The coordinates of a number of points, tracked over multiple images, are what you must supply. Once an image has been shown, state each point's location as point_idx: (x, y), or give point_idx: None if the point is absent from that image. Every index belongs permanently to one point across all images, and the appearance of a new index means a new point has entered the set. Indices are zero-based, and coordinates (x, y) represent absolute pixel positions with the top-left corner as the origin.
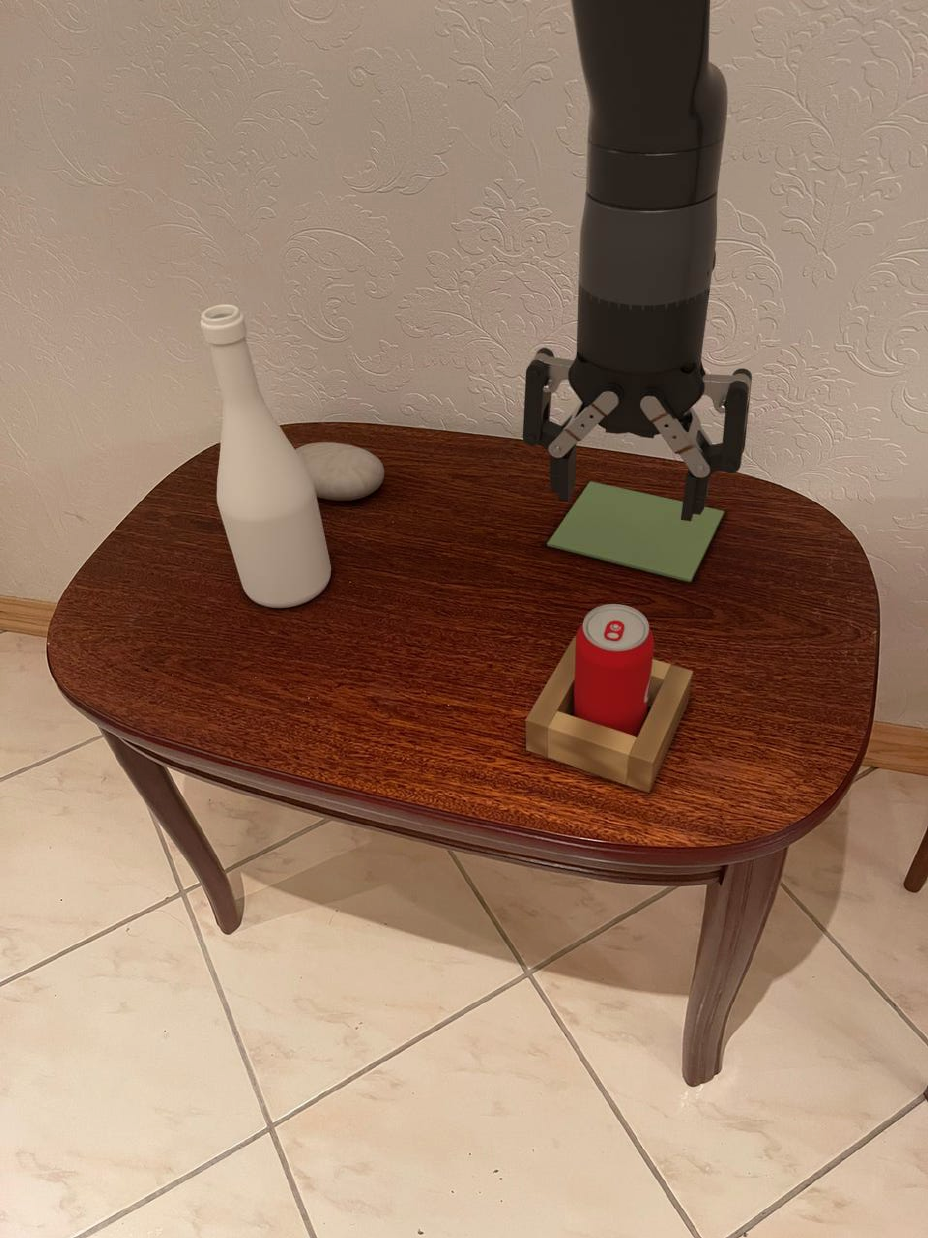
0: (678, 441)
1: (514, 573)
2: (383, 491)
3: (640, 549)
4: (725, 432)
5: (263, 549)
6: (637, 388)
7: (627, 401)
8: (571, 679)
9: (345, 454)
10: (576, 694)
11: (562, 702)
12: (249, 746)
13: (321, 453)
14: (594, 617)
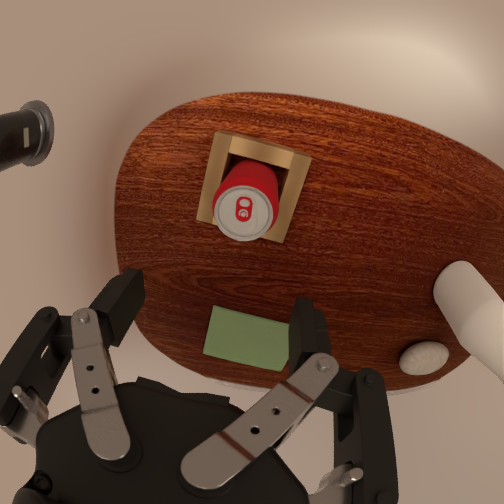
0: (86, 359)
1: (325, 305)
2: (398, 352)
3: (246, 327)
4: (28, 357)
5: (481, 286)
6: (143, 476)
7: (171, 454)
8: (281, 200)
9: (421, 368)
10: (275, 180)
11: (286, 179)
12: (465, 153)
13: (432, 366)
14: (263, 224)
